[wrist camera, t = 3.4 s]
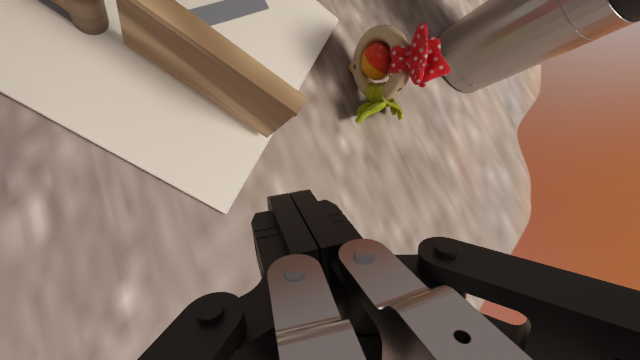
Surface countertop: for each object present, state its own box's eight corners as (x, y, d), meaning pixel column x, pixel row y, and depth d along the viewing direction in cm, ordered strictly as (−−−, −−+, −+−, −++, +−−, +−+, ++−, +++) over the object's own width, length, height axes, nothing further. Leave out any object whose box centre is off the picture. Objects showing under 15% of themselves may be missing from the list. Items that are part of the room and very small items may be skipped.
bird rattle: (320, 83, 37) (363, 145, 34) (356, -14, 28) (419, 60, 25) (363, 74, 40) (406, 130, 37) (408, -17, 31) (470, 49, 28)
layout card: (74, -201, 27) (72, -211, 27) (336, 22, 36) (339, 19, 36) (-193, -13, 20) (-204, -21, 19) (224, 214, 28) (226, 214, 28)
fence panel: (133, 32, 26) (125, -37, 19) (273, 126, 30) (307, 97, 23) (121, 46, 25) (108, -20, 19) (265, 140, 29) (297, 114, 23)
